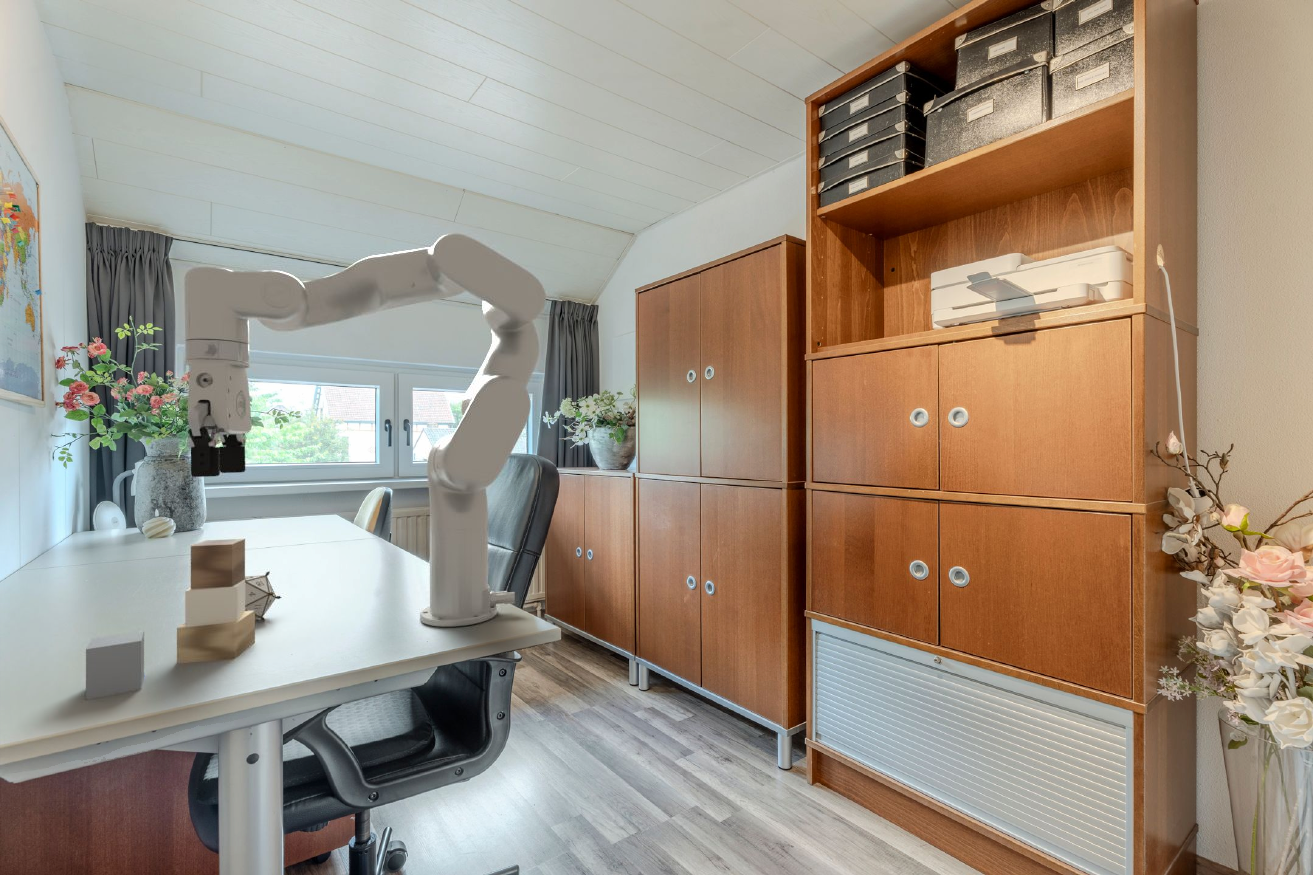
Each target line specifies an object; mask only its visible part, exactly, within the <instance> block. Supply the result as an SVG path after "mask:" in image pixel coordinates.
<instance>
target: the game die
mask: <svg viewBox="0 0 1313 875" xmlns="http://www.w3.org/2000/svg"><path fill="white" fill-rule="evenodd" d="M269 575H270V570H269V571H266V572H265V575H251V576H245V611H254V610H255V620H256V619H260V621H261V622H263V623H265V621H266V619H265V617H264V616H265V614H266V613H267V611H268V610H269V609H270V608H271V606H272V605H273V603H274V602H275V600H280V599H282V596H280V595H276V593H275V591H274V589H273V586H272V584H271V582H270V580H269V578H268V576H269Z"/></svg>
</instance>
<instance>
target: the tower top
mask: <svg viewBox="0 0 1313 875" xmlns="http://www.w3.org/2000/svg"><path fill="white" fill-rule="evenodd" d="M184 591H185V592H184V594H185V595H184V596H185V598H184V599H185V600H184V603H185V605H184V606H185V607H184V608H185V611H184V612H185V614H184V615H185V616H184V618H185V619H184V621H185V622H184V623H185V627H193V626H203V625H212V624H221V623H231V622H238V620H239V619H240V618H241V616H242V615H243V613H244V612H245V579H244V580H242V581H241V582H239V583H238V584H236V585H234V586H233V587H219V588H203V589H191V586H190V587H189V588H187V589H186V590H184Z"/></svg>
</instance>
